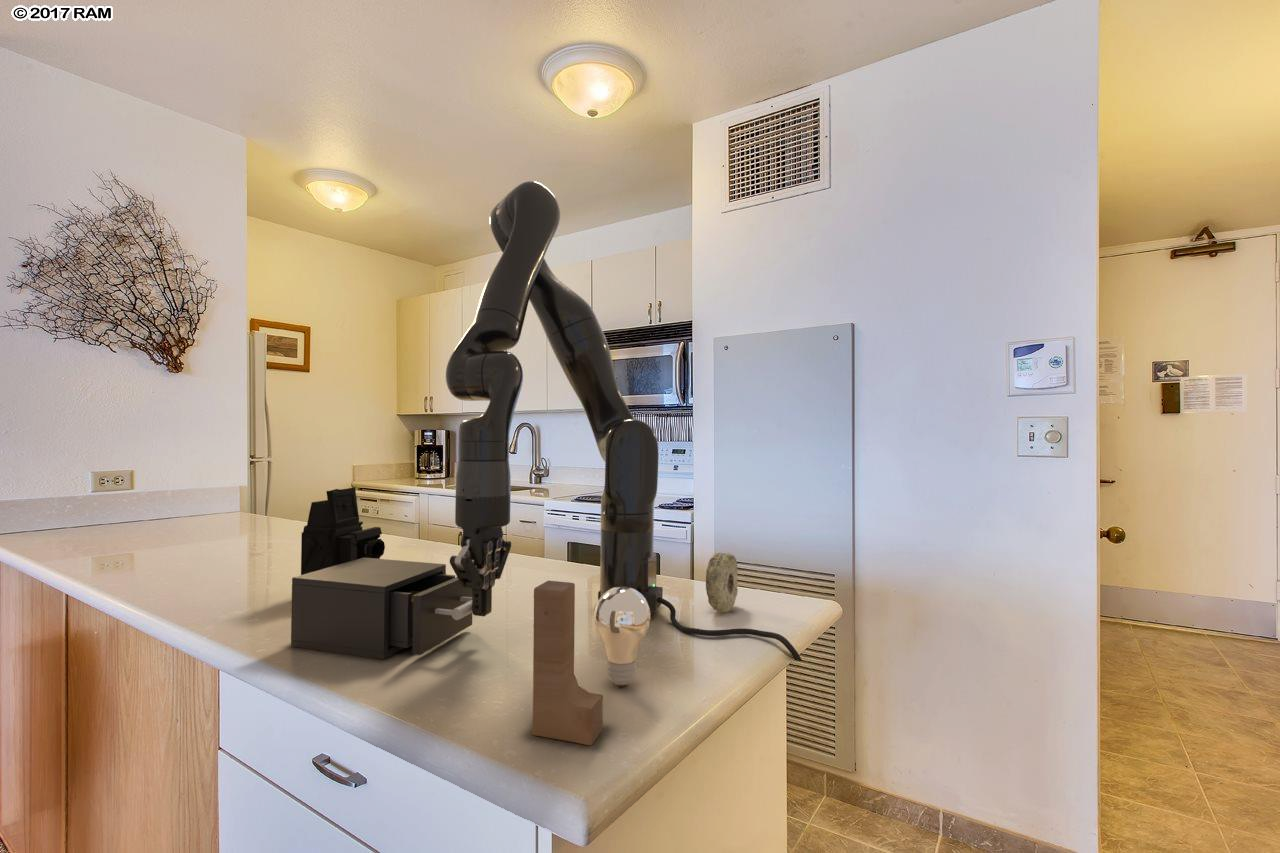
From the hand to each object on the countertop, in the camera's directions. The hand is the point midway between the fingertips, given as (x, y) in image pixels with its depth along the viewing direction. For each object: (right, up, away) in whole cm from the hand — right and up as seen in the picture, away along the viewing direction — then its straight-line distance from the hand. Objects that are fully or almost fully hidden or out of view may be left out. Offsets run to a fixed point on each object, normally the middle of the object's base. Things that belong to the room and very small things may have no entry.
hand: (481, 614), depth 80 cm
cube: (-11, -3, +3) cm, 11 cm away
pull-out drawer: (-10, -4, +3) cm, 11 cm away
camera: (-32, -5, +25) cm, 41 cm away
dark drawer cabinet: (-18, -5, +5) cm, 19 cm away
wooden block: (+15, -5, -22) cm, 27 cm away
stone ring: (+37, -6, +19) cm, 42 cm away
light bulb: (+20, -5, -11) cm, 23 cm away
